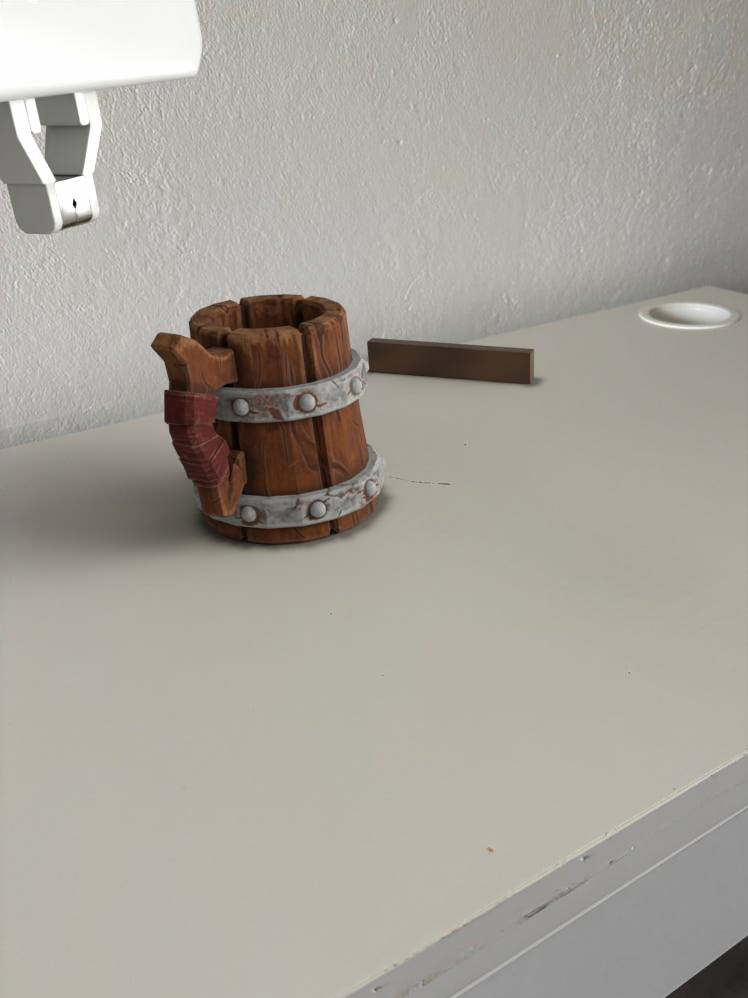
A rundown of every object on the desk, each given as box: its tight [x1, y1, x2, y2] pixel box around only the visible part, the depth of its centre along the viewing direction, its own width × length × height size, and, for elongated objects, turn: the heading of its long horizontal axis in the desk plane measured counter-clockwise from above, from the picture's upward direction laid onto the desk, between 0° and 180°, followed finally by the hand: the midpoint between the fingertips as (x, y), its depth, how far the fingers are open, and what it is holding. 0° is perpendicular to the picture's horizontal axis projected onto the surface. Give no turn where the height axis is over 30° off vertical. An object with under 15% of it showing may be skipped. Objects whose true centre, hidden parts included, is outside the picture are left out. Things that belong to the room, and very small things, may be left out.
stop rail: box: [366, 337, 535, 385], centre depth 84 cm, size 14×1×2 cm, turn 72°
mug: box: [150, 293, 387, 545], centre depth 59 cm, size 12×14×15 cm
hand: (61, 227), depth 41 cm, fingers closed
